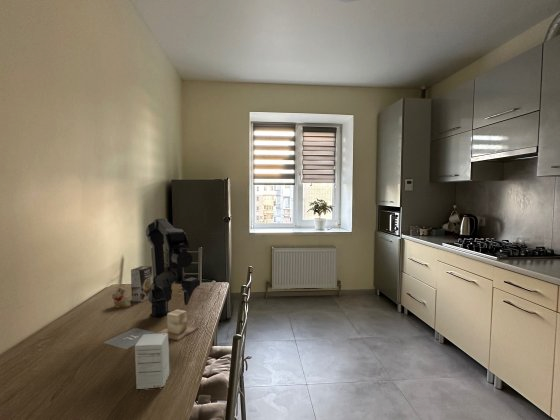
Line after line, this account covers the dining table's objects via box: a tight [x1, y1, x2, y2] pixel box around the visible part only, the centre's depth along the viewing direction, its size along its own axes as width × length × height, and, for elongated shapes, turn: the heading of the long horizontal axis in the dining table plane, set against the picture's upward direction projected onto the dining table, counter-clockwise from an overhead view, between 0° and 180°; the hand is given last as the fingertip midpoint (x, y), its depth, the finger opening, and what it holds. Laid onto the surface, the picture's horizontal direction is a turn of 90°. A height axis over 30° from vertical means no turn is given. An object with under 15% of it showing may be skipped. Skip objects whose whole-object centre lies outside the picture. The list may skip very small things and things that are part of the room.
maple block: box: [166, 309, 188, 334], centre depth 124 cm, size 5×5×7 cm
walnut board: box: [155, 324, 199, 341], centre depth 125 cm, size 11×11×1 cm
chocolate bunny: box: [111, 286, 132, 309], centre depth 154 cm, size 6×8×10 cm
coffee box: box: [130, 265, 153, 303], centre depth 165 cm, size 9×6×16 cm
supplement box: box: [134, 333, 171, 390], centre depth 91 cm, size 7×7×13 cm
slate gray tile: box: [102, 327, 157, 350], centre depth 120 cm, size 14×12×1 cm
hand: (176, 303), depth 124 cm, fingers open, 9 cm apart
